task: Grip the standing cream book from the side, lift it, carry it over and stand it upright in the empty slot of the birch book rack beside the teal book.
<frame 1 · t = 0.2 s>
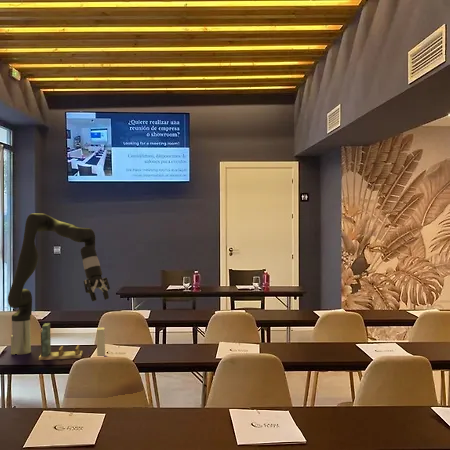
hand: (100, 299, 264), 30 cm above the table, tool tilted 20°, fingers open, 8 cm apart
book rack: (69, 356, 282), on the table
cream book: (101, 356, 280), on the table
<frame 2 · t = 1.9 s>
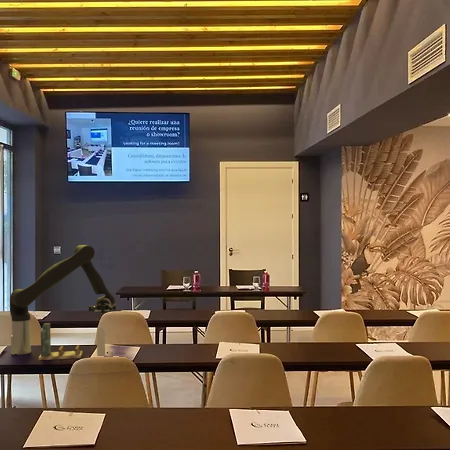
hand: (101, 309, 291), 22 cm above the table, tool horizontal, fingers open, 8 cm apart
nothing on the table moved.
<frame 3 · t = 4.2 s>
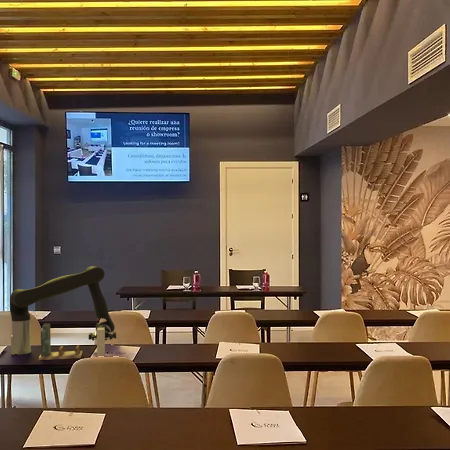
hand: (101, 338, 288), 8 cm above the table, tool horizontal, fingers open, 8 cm apart
nothing on the table moved.
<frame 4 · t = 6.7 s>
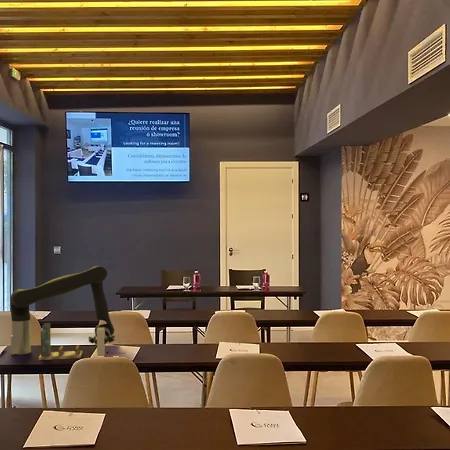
hand: (100, 342, 278), 8 cm above the table, tool horizontal, fingers closed on cream book, 3 cm apart
cream book: (101, 356, 280), on the table, touching gripper
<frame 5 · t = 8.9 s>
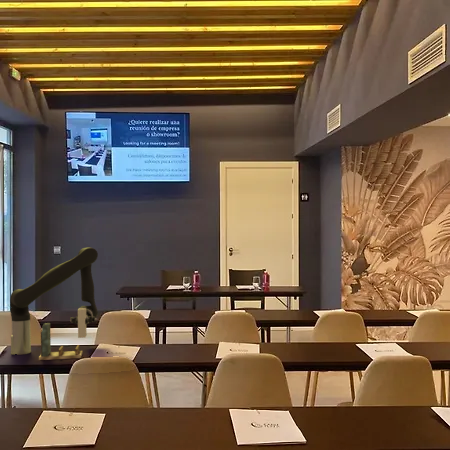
hand: (81, 322, 278), 18 cm above the table, tool horizontal, fingers closed on cream book, 3 cm apart
cream book: (82, 336, 281), point 10 cm above the table, touching gripper
when the fingers open (11 cm above the table, at t = 11.6 s): cream book drops 1 cm, resting on book rack.
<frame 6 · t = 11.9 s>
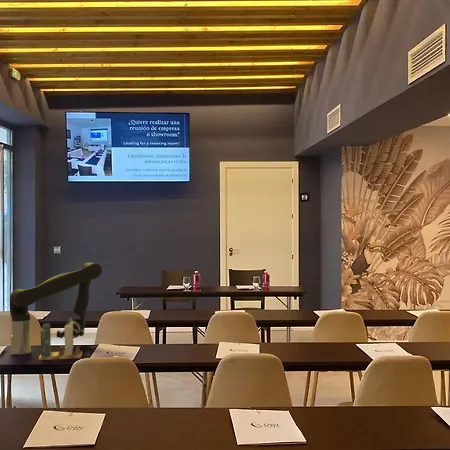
hand: (68, 336, 280), 11 cm above the table, tool horizontal, fingers open, 6 cm apart
cream book: (69, 353, 282), point 1 cm above the table, touching book rack
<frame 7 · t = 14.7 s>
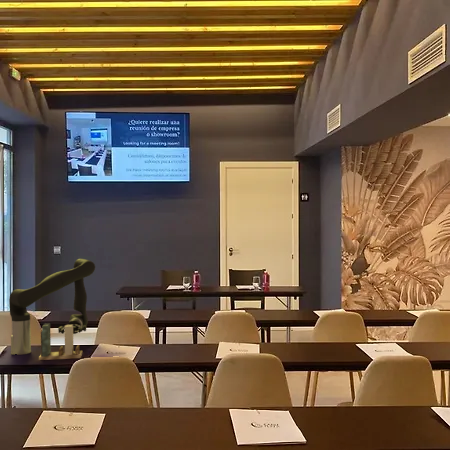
hand: (70, 331, 293), 11 cm above the table, tool horizontal, fingers open, 8 cm apart
nothing on the table moved.
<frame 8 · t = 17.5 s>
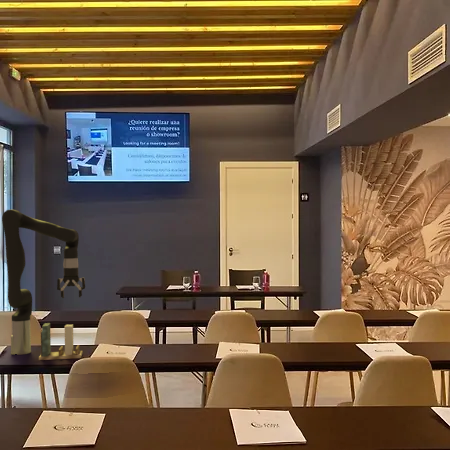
hand: (71, 297, 295), 28 cm above the table, tool pointing down, fingers open, 8 cm apart
nothing on the table moved.
at the end: cream book 0.0 cm off-centre on the book rack, point 1.5 cm above the book rack's base; cream book tilted 0°; the gripper is holding nothing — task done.
